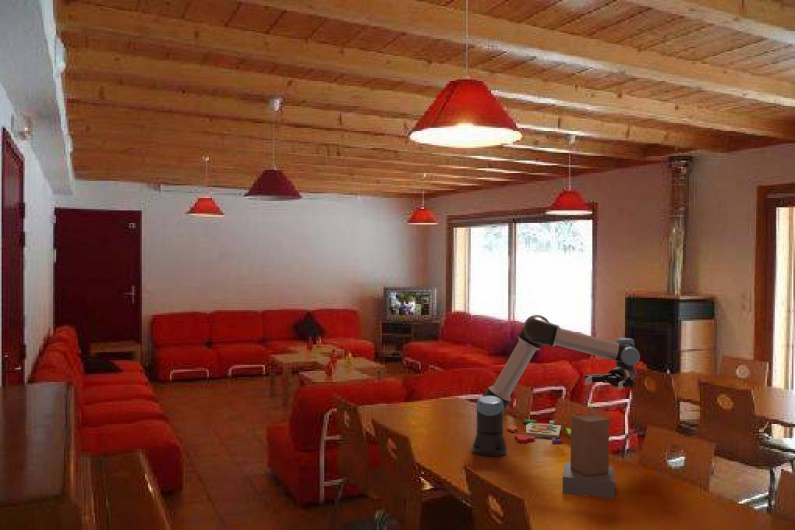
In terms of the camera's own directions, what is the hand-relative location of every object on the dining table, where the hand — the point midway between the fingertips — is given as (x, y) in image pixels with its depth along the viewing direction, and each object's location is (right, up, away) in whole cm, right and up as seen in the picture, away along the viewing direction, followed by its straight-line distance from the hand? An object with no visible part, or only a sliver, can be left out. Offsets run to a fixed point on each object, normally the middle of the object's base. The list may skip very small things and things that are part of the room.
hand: (602, 384), depth 260 cm
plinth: (-12, -35, -20) cm, 42 cm away
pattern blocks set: (-11, -35, +57) cm, 68 cm away
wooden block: (-11, -29, -19) cm, 37 cm away
